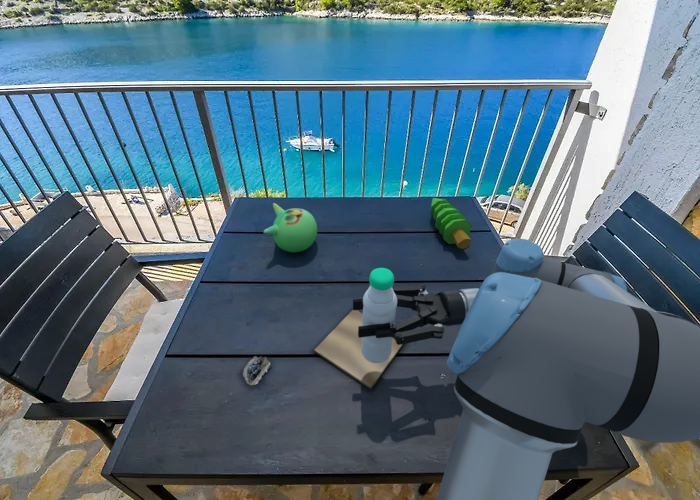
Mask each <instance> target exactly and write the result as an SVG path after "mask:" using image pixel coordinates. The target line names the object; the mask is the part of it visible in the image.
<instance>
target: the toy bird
mask: <svg viewBox="0 0 700 500" xmlns="http://www.w3.org/2000/svg"><path fill="white" fill-rule="evenodd" d="M272 208H273V211H274V213H275V216H276V218H275V219H274V221H273V224H272V225H271V226H269V227H267V228H265V229H264V230H263V234H264V235H272V238H273V241H274V242H275V244H276V245H277V247H278V248H280V249H281V250H283V251H285V252H287V253H288V252H289V253H301V252H304V251H305V250H307V249H309V248H310V247H311V246H312V245H313V244H314V242H316V238H317V236H318V225H317V221H316V219H315V217H314V216H313V214H312V213H310V212H309V211H308V210H306V209H304V208H300V207H299V208H297V207H293V208H288V209H286V210H285V209H283V208H282V207H281V206H280V205H279V204H277V203H275V202H273V203H272Z"/></svg>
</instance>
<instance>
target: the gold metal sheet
mask: <svg viewBox="0 0 700 500" xmlns="http://www.w3.org/2000/svg"><path fill="white" fill-rule="evenodd" d="M362 315H363V312H361V311H360V310H353V309H352V310H351V311H350V312H348V314H347V315H346V316H345V317H344V318H343V319H342V320H341V321H340V322H339V323H338V324H337V325H336V326H335V327H334V329H333V330H331V331H330V333H328V335H327V336H325V338H324V339H323V340H322V341H321V342H320V343H319V344H318V345H317V346H316V348H314V350H313V352H314V353H315V354H317V355H318V356H320V357H321V358H323V359H324V360H326V361H327V362H329V363H330V364H331V365H333V366H335V367H336V368H338V369H339V370H341V371H342V372H343V373H345V374H347V375H348V376H350V377H351V378H352V379H354V380H356V381H357V382H359V383H360V384H362V385H363V386H365V387H367V389H369V390H372V389H373V387H374V386H375V384H377V382H378V380H379V379H380V377H381V376H382V375H383V373H384V372H385V371H386V369H387V368H388V367H389V366H390V364H391V363H392V361H393V360H394V358H395V357H396V356H397V354H398V353H399V351H400V350H401V349H402V347H403V346H404V345H405V344H401V345H397V344H396V341H395V339H394V338H393V341H392V350H391V355H390V357H389V358H388V359H387V360H386V361H384V362H382V363H372V362H370V361H368V360H366V359H365V358H364V356H363V354H362V351H361V345H362V337H360V338H359V337H358V326H362Z"/></svg>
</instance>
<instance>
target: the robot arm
mask: <svg viewBox="0 0 700 500" xmlns="http://www.w3.org/2000/svg"><path fill="white" fill-rule="evenodd" d="M392 289H393V291H394V293H395V295H396V297H397V306H396V307H397V308H398V307H399V308H406V309H411V310H412V311H415V312H416V313H418V314H417V315H415V316H413V317H410V318H408V319H405V320H403V321H400V322H398V323H395V324H394V325H393V324H392V328H390V327H391V325H390V323H385V324H375V325H366V326H358V337H359V338H360V337H369V336H376V338H385V337H392V338H394V339H395V341H396V344H397V345H401V344H404V345H405V344H409V343H410V344H411V343H415V342H420V341H425V340H429V339H436V340H441V339H443V338H444V337H443V336H444V332H445V327H444V326H446V327H451V326H459V325H460V329H459V331H458V333H457V336H456V339H455V341H454V343H453V345H452V347H451V349H450V353H449V355H448V357H447V360H446V368H447V369H449V370H450V371H451V373H453V374H455V375H457V376H456V379H455V381H454V382H455V383H454V386H453V392H454V394H455V396H456V397H457V399H458V401H459V403H460V405H461V407H462V413H461V414H460V415H461V416H460V419H459V423H458V426H457V429H456V433H455V436H454V439H453V442H452V446H451V450H450V452H449V456H448V459H447V462H446V466H445V469H444V473H443V476H442V479H441V483H440V486H439V490H438V493H437V496H436V499H435V500H539V498H540V496H541V492H542V489H543V486H544V483H545V480H546V475H547V472H548V469H549V467H550V463H551V460H552V457H553V453H555V452H557V451H562V450H565V449H570V448H573V447H575V446H577V444H578V441H579V438H580V436H581V431H582V429H583V426H584V424H585V423H587V424H591V425H593V426H597V427H599V428H602V429H605V430H607V431H610V432H613V433H615V434H619V435H621V436H624V437H626V438H632V439H634V440H639V441H644V442H648V443H649V442H650V443H659V444H660V443H662V444H665V443H666V444H670V443H672V444H674V443H684V442H688V441H693V440H697V439H700V326H698V325H697V324H695V323H694V322H691V321H690V320H688V319H687V318H685V317H682V316H680V315H677V314H674V313H669V312H665V311H658V310H657V311H656V310H655V309H654V308H653V307H651V306H649V305H648V304H647V303H645V302H643V301H642V300H640V299H639V298H638V297H636V296H634V295H633V294H632V293H630V292H629V291H628V286H627V281H625V279H624V278H622V277H620V276H618V275H614V274H612V273H610V272H607V271H603V270H596V269H592V268H588V267H583V266H579V265H575V264H572V263H567V262H564V261H561V260H557V259H554V258H549V257H545V256H544V251H543V249H542V248H541V246H540V245H538V244H537V243H535V242H534V243H533V242H532V241H531V240H530V239H526V238H512V239H509V240H507V241H506V242H505V243H504V244H503V245H502V246H501V249H500V252H499V254H498V256H497V258H496V260H495V265H494V268H493V270H492V274H490V275H488V276H487V277H485V278H484V280H483V281H482V283H481V285H480V286H478V287H472V288H471V287H470V288H460V289H451V290H442V291H440V292H438V293H431V292H428V291H427V289H426V285H425V284H424V283H421V284H419V285H411V286H392ZM363 306H364V305H363V298H356V299H355V298H354V299H352V310H357V311H361V310H362V311H363ZM428 325H429V326H428Z"/></svg>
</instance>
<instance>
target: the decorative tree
mask: <svg viewBox="0 0 700 500" xmlns="http://www.w3.org/2000/svg"><path fill="white" fill-rule="evenodd" d="M430 205H431V206H430V212H429V214H430V215H431V216H432V217H433V220H434V221H435V224H434V228H436V230H438V233H439V235H441V236H442V239H443V240H444V241H445V242H446V243H447V244H448V245H454V244H455V245H456V247H457V248H458V249H461V250H462V249H463V250H464V249H467V248H468V247H469V246H470V245H471V243H472V239H471V238H470V233H471V230H472V224H471V223H470V222H469V221H468V219H467V217H465V216H464V214H462V213H461V211H460V210H459V209H458V208H455V207H454V205H452V203H450V202H449V201H448V200H447V199H444V198H443V199H442V198H438V197H437V198H436V197H432V201H431V204H430Z"/></svg>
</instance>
